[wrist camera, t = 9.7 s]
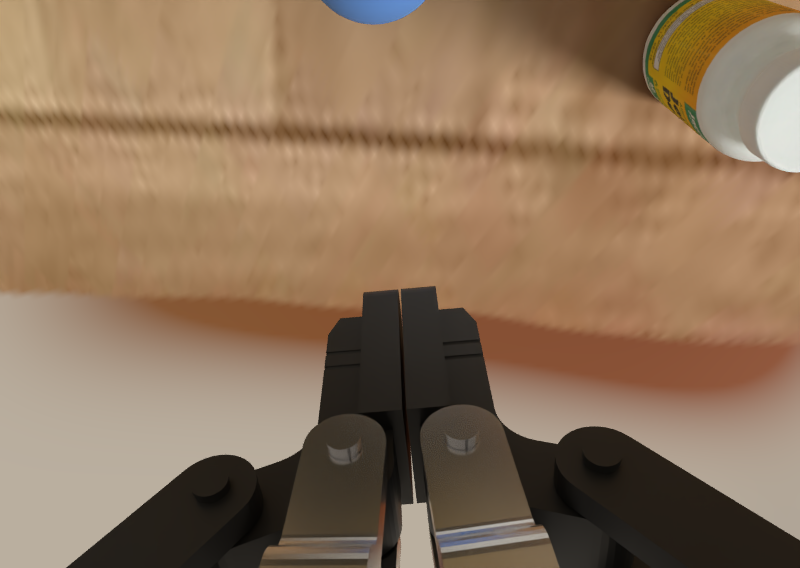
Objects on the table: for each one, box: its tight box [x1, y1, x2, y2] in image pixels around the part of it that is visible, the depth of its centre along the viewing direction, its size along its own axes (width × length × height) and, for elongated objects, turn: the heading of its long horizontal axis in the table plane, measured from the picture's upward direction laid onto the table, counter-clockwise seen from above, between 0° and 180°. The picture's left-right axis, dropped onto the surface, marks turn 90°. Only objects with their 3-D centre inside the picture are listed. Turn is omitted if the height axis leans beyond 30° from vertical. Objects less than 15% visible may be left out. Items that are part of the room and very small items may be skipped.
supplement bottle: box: [643, 0, 800, 172], centre depth 25 cm, size 5×5×10 cm
